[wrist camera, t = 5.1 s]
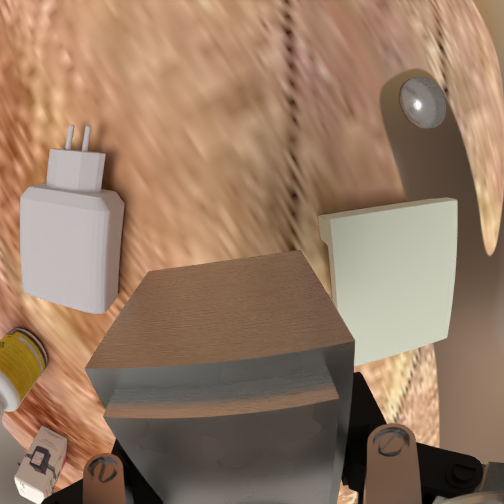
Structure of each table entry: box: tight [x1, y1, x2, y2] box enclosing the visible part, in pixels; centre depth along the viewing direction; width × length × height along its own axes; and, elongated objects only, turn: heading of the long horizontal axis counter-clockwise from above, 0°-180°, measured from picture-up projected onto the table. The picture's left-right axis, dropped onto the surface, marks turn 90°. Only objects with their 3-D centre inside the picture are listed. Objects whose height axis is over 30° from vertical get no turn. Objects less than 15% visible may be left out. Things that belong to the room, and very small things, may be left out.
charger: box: [20, 125, 125, 314], centre depth 23 cm, size 5×9×15 cm
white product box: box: [14, 426, 67, 504], centre depth 30 cm, size 8×5×12 cm, turn 154°
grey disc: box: [399, 77, 446, 129], centre depth 23 cm, size 5×5×1 cm
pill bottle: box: [0, 328, 47, 419], centre depth 24 cm, size 6×6×12 cm
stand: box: [318, 197, 457, 366], centre depth 26 cm, size 14×12×4 cm
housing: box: [85, 250, 355, 504], centre depth 8 cm, size 9×5×7 cm, turn 8°
